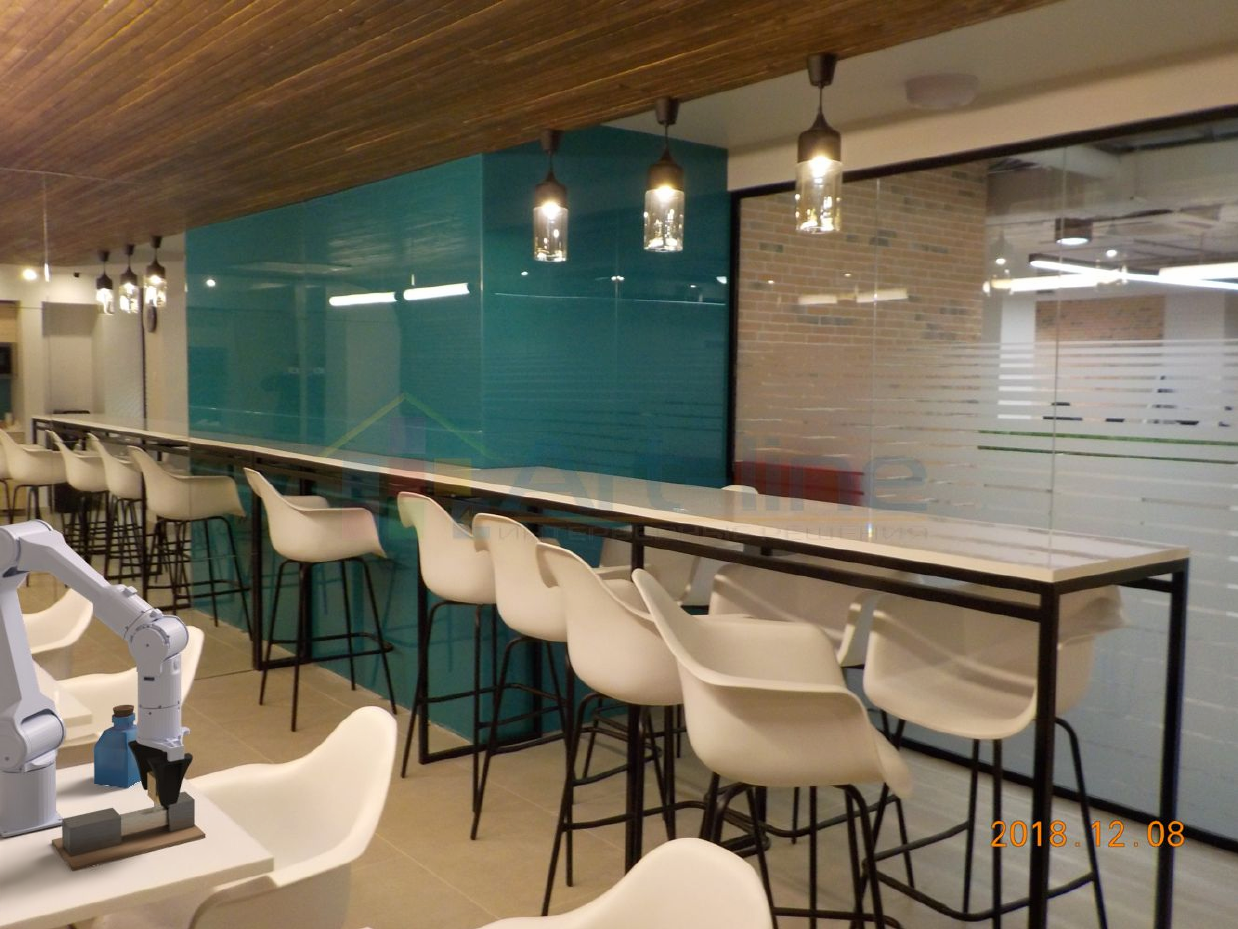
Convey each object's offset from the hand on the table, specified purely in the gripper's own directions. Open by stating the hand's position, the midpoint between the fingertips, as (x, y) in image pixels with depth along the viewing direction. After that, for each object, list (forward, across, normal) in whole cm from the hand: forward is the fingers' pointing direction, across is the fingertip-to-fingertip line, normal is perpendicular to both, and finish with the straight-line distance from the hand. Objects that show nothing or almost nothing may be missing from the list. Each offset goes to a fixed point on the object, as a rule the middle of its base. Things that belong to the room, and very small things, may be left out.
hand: (159, 796), depth 151 cm
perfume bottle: (+6, +25, -2) cm, 26 cm away
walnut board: (+5, 0, +4) cm, 7 cm away
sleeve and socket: (+5, 0, +4) cm, 7 cm away
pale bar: (+4, 0, +2) cm, 4 cm away
